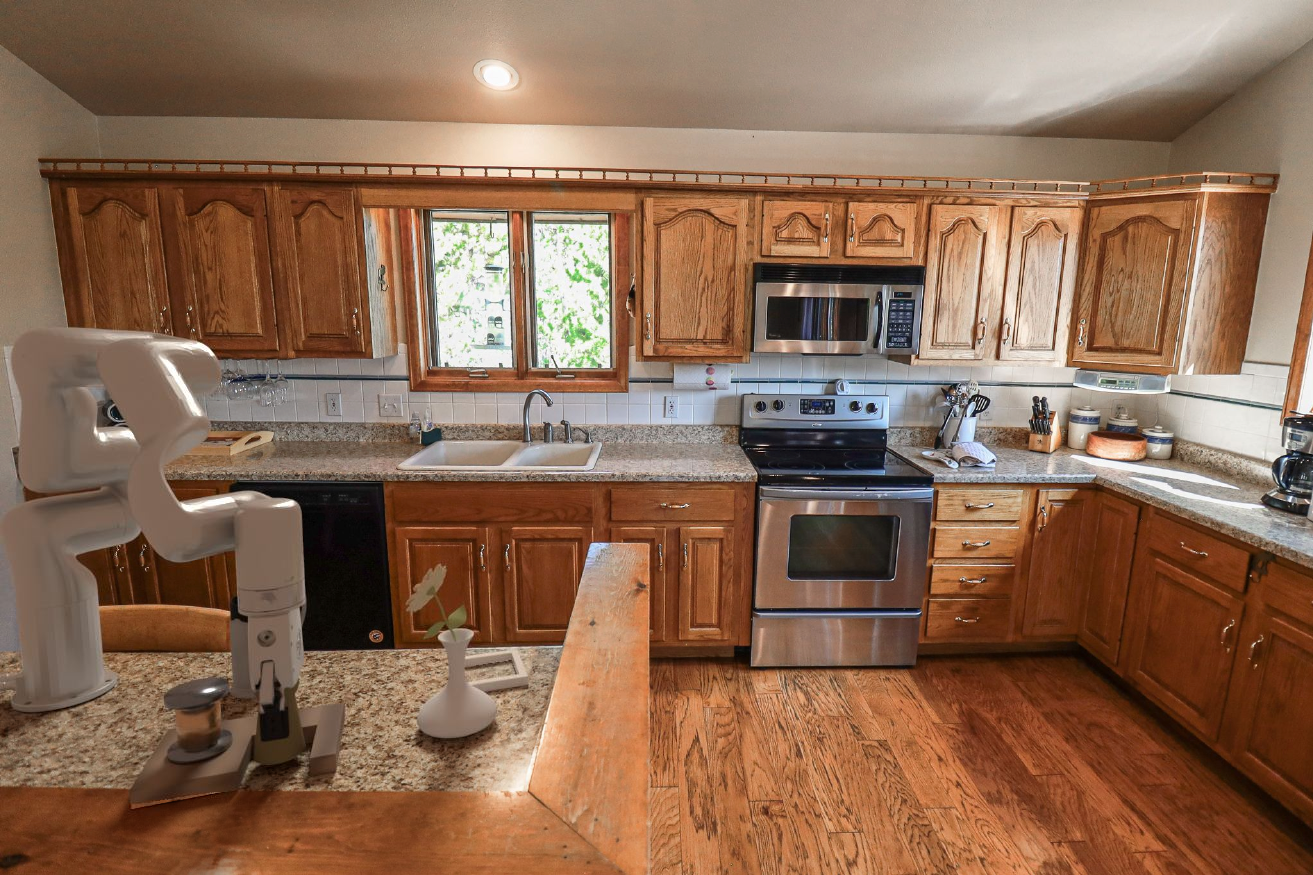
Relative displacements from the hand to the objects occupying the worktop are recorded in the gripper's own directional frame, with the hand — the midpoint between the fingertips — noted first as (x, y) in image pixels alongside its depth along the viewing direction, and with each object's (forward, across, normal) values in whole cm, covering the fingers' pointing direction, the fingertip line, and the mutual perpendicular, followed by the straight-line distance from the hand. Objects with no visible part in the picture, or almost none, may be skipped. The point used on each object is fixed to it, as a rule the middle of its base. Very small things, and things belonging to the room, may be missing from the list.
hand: (278, 727), depth 87 cm
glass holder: (+5, +27, +5) cm, 28 cm away
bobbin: (+2, +2, +9) cm, 10 cm away
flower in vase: (+5, +1, -22) cm, 23 cm away
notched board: (+5, +2, +4) cm, 7 cm away
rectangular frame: (+5, +16, -29) cm, 34 cm away
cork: (+3, 0, 0) cm, 3 cm away
